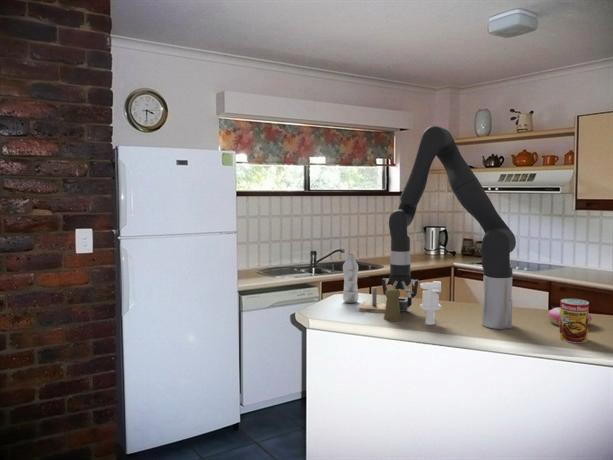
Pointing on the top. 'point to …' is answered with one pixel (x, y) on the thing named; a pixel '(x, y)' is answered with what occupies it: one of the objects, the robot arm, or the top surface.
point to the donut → (555, 316)
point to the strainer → (430, 300)
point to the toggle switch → (373, 304)
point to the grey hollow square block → (403, 304)
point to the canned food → (574, 320)
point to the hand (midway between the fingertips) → (399, 306)
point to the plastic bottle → (350, 279)
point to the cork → (392, 305)
